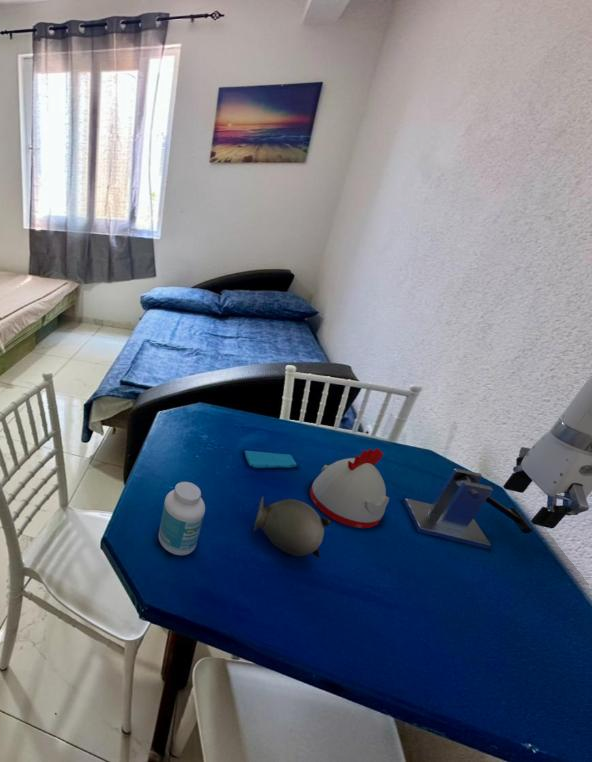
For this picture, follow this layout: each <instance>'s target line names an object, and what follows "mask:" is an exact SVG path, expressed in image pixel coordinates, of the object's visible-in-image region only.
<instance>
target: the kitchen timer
mask: <svg viewBox="0 0 592 762" xmlns="http://www.w3.org/2000/svg"><path fill="white" fill-rule="evenodd" d="M384 455H385V453H383V452H382V451H381V449H379V447H376V448H375V449H374V450H373V449H371V448H369V449H368V450H366V449H363V451H362V452H361V454H360V456H359V455H358V454H356V455H355V457H349V458H344V459H339V460H336V461H335V462H333V463H331V464H329V465H327V464H324V466H323V467H322V468H321V472H320V473H319V474H318V476H317V477H315V479H314V481H313V482H312V484H311V487H310V489H309V490H310V491H309V496H310V498H311V499H310V500H311V501H312V503H313V504H314V506H315V507H317V509H318V510H320V511H321V512H322V513H323V514H324V515H326V516H327V517H329V519H332V520H334V521H336V522H338V523H340V524H342V525H346V526H349V527H351V528H359V529H368V528H373V527H376V526H377V525H379V524H380V522H381V520H382V518H383V517H384V514H385V512H386V508H387V506H388V504H389V501H390V497H389V496H387V490H386V489H387V488H386V484H385V481H384V479H383V476H382V475H381V473H380V471H379V470H378V468H377V467H376V466H375V465H376V464H377V463H378V462H379V461H380V460H382V458H383V456H384Z"/></svg>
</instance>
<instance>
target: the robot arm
mask: <svg viewBox="0 0 592 762" xmlns="http://www.w3.org/2000/svg"><path fill="white" fill-rule="evenodd" d="M515 461H516V462H515V466H513V468H512V471H513V472H512V473H511V475H510V476H509V477H508V479H507V480H506V481H505V482H504V484H503V485H502V487H503V489H504V490H506V491H512V492H516V493H521V494H523V493H525V491H526V490H527V489H528V487H529V486H530V485H531V484H532V482H533V483H534V484H535V485H536V486H537V487H538V488H539V489H540V490H541V492H542V493H544V494H545V495H546V496H547V499H546V500H547V501H546V506H542V507H541V508H540V509H539V510H538V511H537V513H536V514H535V515H534V516H533V517H532V519H531V520H530V522H531V523H532V524H533V525H534V526H539V527H543V528H546V529H551V530H552V529H555V528H556V527H557V525H558V524H560V522H561V521H562V520H563V519H564V518H565V517H566V516H568V517H570V516H578V515H579V514H581V513H584V512H587V511H589V510H590V506H589V503H588V499H587V498H588V497H589V495H590V494H591V493H592V374H591V375H590V376H589V378H588V379H587V380H586V382H585V383H584V384H583V386H582V387H581V389H579V390H578V392H577V394H576V395H575V397H573V399H572V400H571V401H570V403H569V404H568V406H567V407H566V408H565V410H564V411H563V412H562V413H561V415H560V416H559V417H558V418H557V420H556V422H555V423H554V424H553V426H552V427H551V428H550V429H549V430H548V431H547V432H545V433H544V434H543V435H542V436H541V437H540V438H539V439H538V440H537V441H536V442H535V443H534V445H532V447H530V448H529V447H525V446H521V447H520V449H519V453H518V456H517V457H516V459H515ZM561 494H563V495H561ZM558 500H561V501H562V505H561V504H558V505H557V503H558Z"/></svg>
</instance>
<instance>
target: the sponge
mask: <svg viewBox="0 0 592 762" xmlns="http://www.w3.org/2000/svg"><path fill="white" fill-rule="evenodd" d="M244 457H245V459H246V461H247V464H248V465H249V467H251V468H254V469H275V468H276V469H290V468H291V469H292V468H296V467H297V466H298V464H297V462H296V460H295V459H294V457H293V455H292V454H288V453H282V454H281V453H275V452H267V451H266V452H263V451H254V450H244Z"/></svg>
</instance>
